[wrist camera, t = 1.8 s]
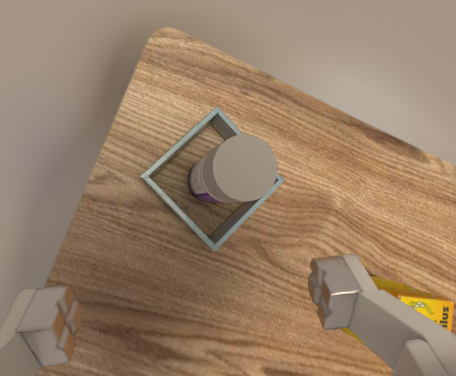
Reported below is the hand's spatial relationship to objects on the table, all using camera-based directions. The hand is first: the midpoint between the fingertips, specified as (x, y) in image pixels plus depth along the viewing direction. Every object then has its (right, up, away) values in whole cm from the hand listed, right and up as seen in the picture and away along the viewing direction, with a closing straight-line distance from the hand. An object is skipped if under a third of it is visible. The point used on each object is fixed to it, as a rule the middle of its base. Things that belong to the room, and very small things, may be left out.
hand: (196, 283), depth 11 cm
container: (-1, +4, +25) cm, 25 cm away
